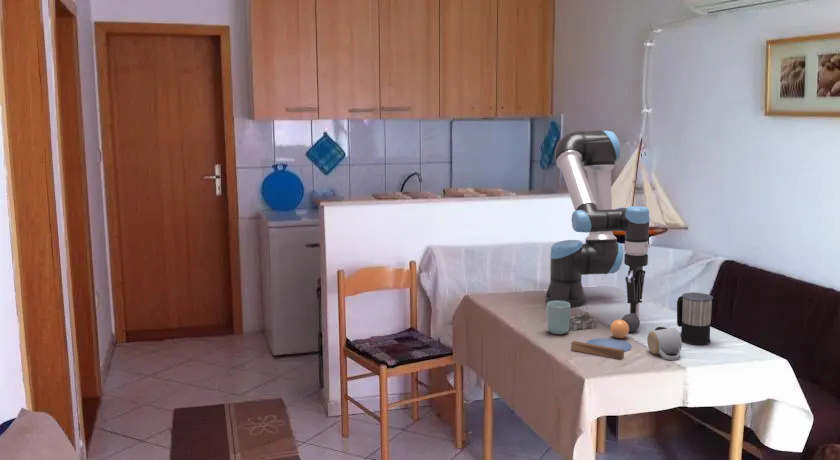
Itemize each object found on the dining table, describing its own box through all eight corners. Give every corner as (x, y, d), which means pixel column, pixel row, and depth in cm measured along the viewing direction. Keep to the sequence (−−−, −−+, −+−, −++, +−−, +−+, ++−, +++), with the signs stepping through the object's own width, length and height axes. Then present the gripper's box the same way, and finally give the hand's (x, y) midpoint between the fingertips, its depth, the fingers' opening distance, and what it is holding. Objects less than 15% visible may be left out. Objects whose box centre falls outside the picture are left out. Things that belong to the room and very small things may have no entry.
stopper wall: (573, 348, 238) (573, 340, 238) (623, 357, 229) (624, 349, 229) (571, 350, 237) (571, 342, 236) (621, 359, 228) (621, 351, 227)
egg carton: (588, 323, 267) (588, 311, 266) (598, 329, 259) (599, 317, 259) (560, 325, 264) (560, 313, 263) (569, 331, 257) (569, 319, 256)
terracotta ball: (615, 323, 253) (610, 315, 249) (633, 325, 250) (628, 317, 245) (610, 339, 251) (605, 331, 246) (628, 342, 247) (623, 334, 243)
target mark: (596, 336, 250) (596, 335, 250) (638, 343, 243) (638, 342, 243) (578, 347, 239) (578, 347, 239) (622, 355, 231) (622, 355, 231)
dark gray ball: (622, 308, 255) (617, 324, 252) (640, 312, 252) (636, 328, 249) (625, 316, 259) (620, 332, 257) (642, 320, 257) (638, 336, 254)
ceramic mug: (645, 350, 236) (646, 326, 235) (670, 348, 237) (671, 324, 236) (661, 362, 226) (662, 337, 224) (687, 360, 227) (688, 335, 226)
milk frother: (717, 342, 242) (719, 296, 240) (683, 351, 234) (685, 304, 232) (680, 331, 254) (682, 287, 252) (647, 339, 246) (649, 294, 244)
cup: (569, 336, 250) (570, 307, 249) (545, 335, 252) (546, 306, 250) (570, 329, 258) (570, 301, 256) (546, 328, 259) (547, 300, 258)
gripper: (640, 257, 248) (638, 328, 252) (653, 251, 258) (651, 318, 262) (618, 255, 252) (616, 324, 256) (632, 248, 263) (630, 315, 267)
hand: (634, 321), depth 259 cm, fingers closed
